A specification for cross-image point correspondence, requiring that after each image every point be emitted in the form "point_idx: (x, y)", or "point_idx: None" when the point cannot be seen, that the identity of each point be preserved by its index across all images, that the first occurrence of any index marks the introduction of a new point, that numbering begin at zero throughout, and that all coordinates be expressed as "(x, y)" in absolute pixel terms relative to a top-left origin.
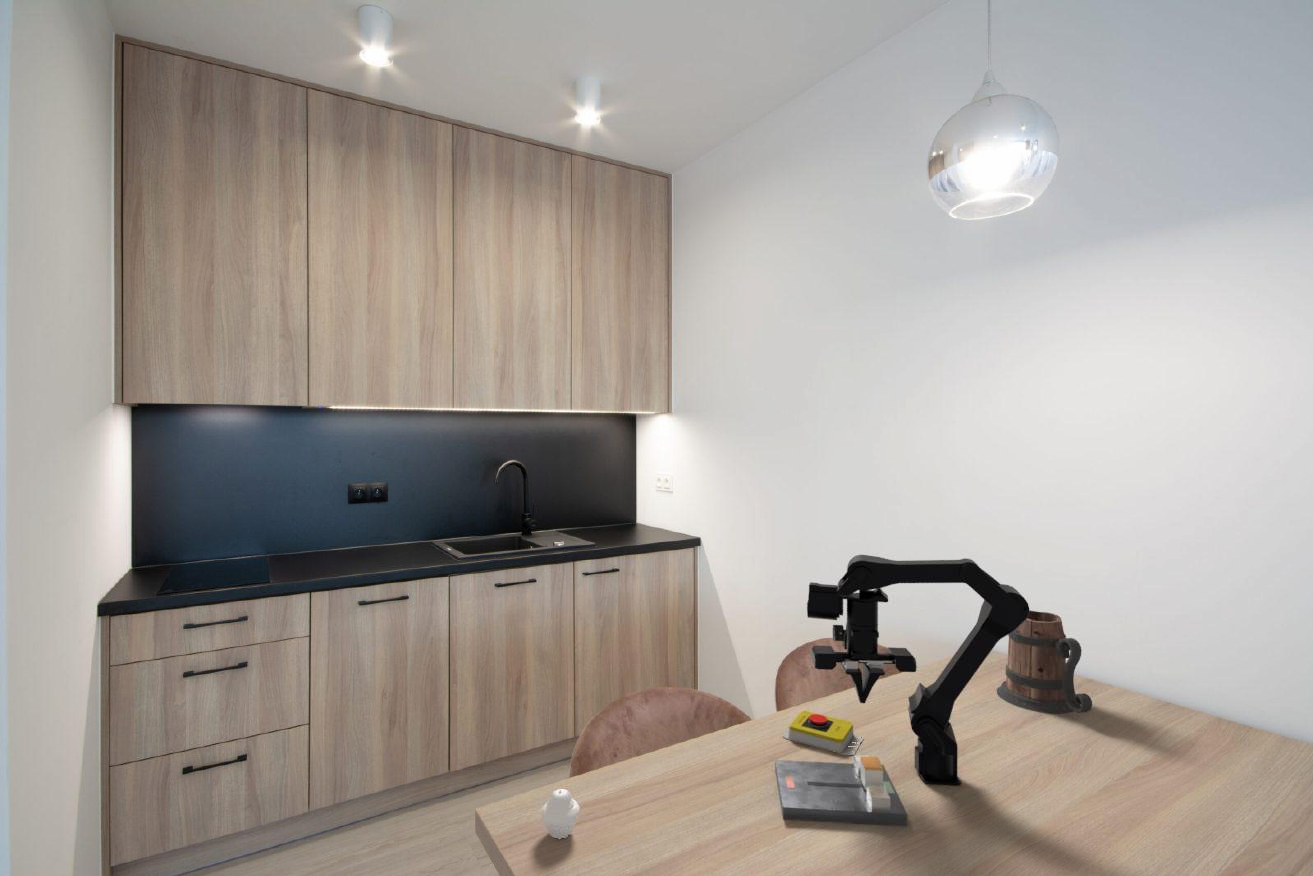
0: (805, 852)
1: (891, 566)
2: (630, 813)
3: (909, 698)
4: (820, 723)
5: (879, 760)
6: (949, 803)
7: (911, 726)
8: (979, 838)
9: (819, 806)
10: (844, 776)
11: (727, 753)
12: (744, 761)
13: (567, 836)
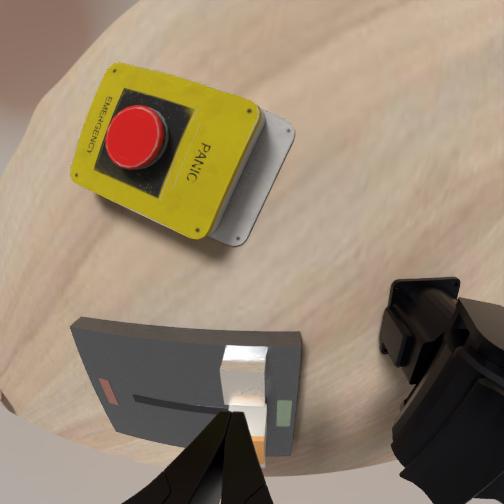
0: (157, 457)
1: None
2: (8, 377)
3: (475, 398)
4: (136, 168)
5: (263, 450)
6: (388, 392)
7: (393, 434)
8: (377, 443)
9: (160, 439)
10: (198, 387)
11: (15, 259)
12: (38, 285)
13: (1, 394)
